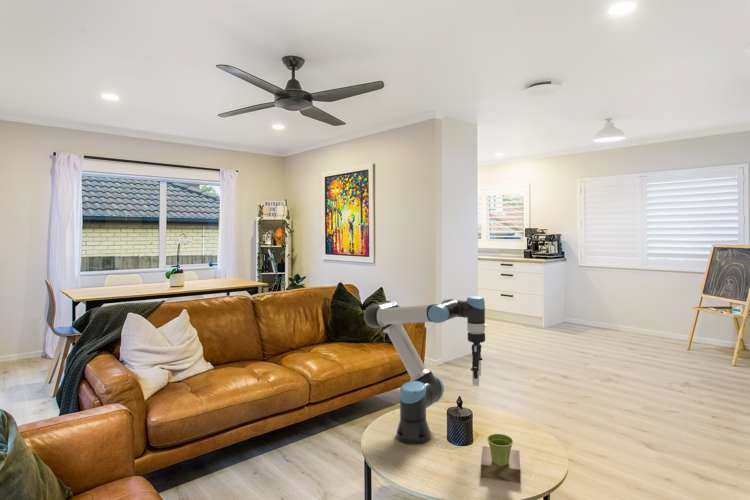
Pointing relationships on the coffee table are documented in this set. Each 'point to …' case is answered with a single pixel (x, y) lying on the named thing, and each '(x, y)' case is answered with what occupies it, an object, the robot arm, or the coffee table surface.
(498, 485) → the coffee table surface
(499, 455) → the plant pot
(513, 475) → the block
